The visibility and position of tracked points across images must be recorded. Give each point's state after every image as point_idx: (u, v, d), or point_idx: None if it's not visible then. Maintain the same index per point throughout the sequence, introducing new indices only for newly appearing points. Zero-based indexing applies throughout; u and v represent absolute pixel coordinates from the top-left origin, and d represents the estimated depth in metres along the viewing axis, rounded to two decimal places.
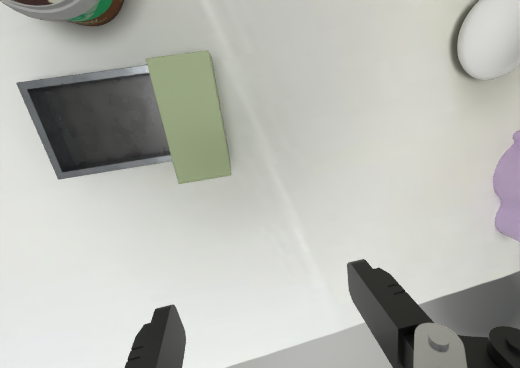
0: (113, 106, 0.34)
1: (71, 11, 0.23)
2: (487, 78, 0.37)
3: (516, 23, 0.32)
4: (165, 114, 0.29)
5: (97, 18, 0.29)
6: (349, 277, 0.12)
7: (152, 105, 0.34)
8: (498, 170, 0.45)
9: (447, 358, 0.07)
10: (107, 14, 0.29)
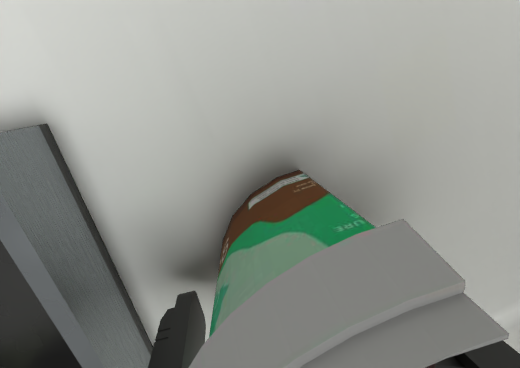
0: (37, 304, 0.13)
1: None
2: None
3: None
4: None
5: None
6: None
7: None
8: None
9: None
10: None
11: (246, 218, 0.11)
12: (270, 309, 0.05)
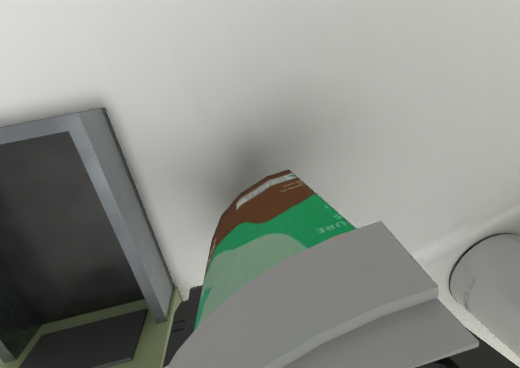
0: (91, 231, 0.19)
1: None
2: None
3: None
4: None
5: None
6: None
7: (109, 284, 0.21)
8: None
9: None
10: None
11: (233, 218, 0.11)
12: (243, 314, 0.04)
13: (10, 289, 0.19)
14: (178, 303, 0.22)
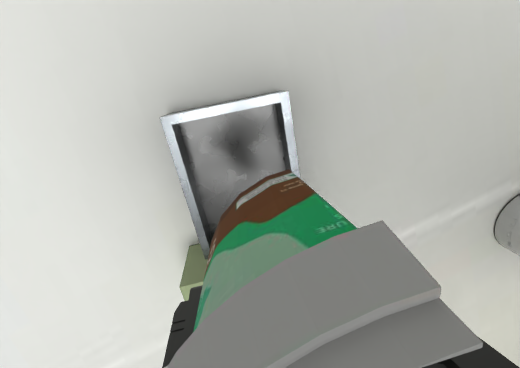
0: (258, 174, 0.29)
1: None
2: None
3: None
4: None
5: None
6: None
7: None
8: None
9: None
10: None
11: (233, 218, 0.11)
12: (243, 315, 0.04)
13: (204, 213, 0.29)
14: None
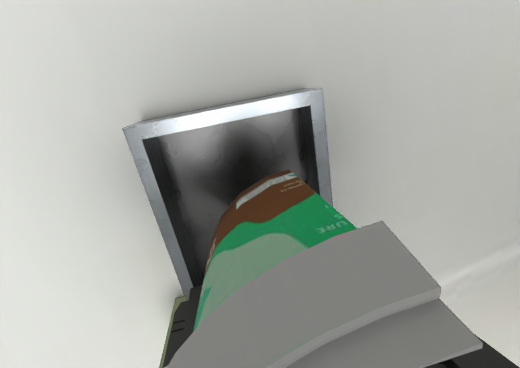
0: None
1: None
2: None
3: None
4: None
5: None
6: None
7: None
8: None
9: None
10: None
11: (233, 218, 0.11)
12: (243, 315, 0.04)
13: (194, 258, 0.21)
14: None
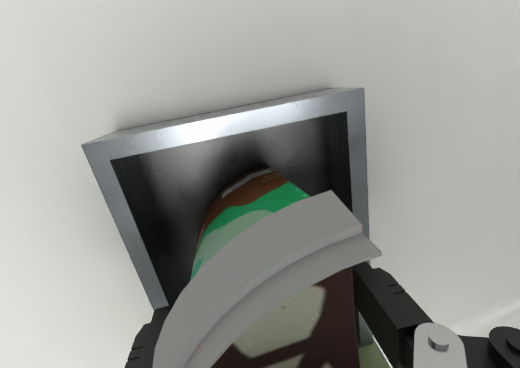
0: None
1: None
2: None
3: None
4: None
5: None
6: None
7: None
8: None
9: (447, 358, 0.07)
10: None
11: (219, 206, 0.12)
12: (233, 256, 0.06)
13: None
14: None
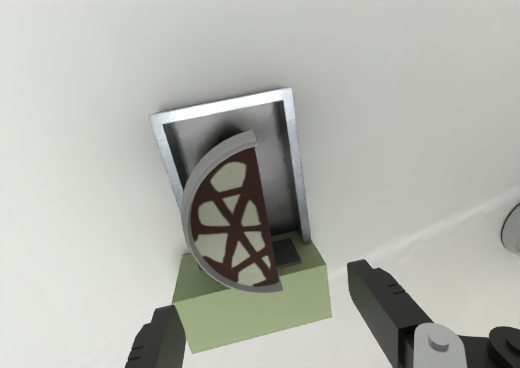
0: None
1: None
2: None
3: None
4: None
5: None
6: (349, 277, 0.12)
7: None
8: None
9: (447, 358, 0.07)
10: None
11: None
12: (212, 152, 0.17)
13: None
14: None
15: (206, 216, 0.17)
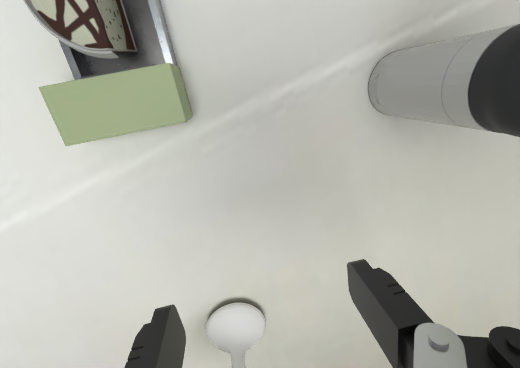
0: (128, 10, 0.32)
1: None
2: (207, 332, 0.49)
3: (239, 337, 0.46)
4: (118, 77, 0.28)
5: None
6: (349, 277, 0.12)
7: (137, 55, 0.33)
8: None
9: (447, 358, 0.07)
10: None
11: None
12: None
13: None
14: (180, 74, 0.34)
15: None
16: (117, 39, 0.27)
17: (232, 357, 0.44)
